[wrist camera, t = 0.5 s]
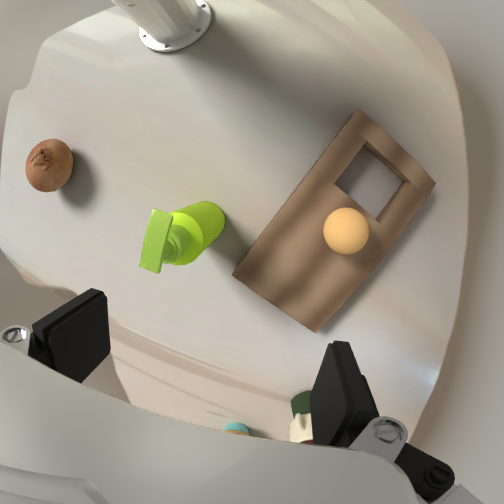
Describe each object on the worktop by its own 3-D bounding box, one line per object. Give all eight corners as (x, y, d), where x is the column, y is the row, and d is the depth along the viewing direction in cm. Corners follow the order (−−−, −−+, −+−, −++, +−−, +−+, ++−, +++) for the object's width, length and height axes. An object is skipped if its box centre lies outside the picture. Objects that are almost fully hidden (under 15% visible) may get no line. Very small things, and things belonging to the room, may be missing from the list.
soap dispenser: (232, 201, 41) (193, 223, 22) (218, 244, 43) (174, 298, 24) (195, 189, 41) (131, 202, 22) (183, 232, 43) (117, 275, 24)
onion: (84, 150, 44) (71, 132, 34) (72, 198, 44) (55, 189, 34) (44, 146, 41) (25, 129, 31) (32, 193, 41) (10, 184, 31)
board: (234, 268, 44) (231, 275, 41) (353, 113, 36) (358, 109, 33) (313, 324, 45) (315, 333, 42) (426, 182, 38) (436, 183, 35)
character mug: (332, 408, 50) (341, 455, 38) (301, 419, 52) (303, 467, 39) (312, 375, 48) (319, 426, 36) (278, 389, 49) (277, 440, 37)
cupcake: (230, 412, 52) (221, 455, 41) (264, 427, 53) (260, 469, 41) (212, 430, 55) (201, 469, 43) (244, 443, 55) (238, 483, 44)
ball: (311, 230, 38) (317, 240, 33) (337, 196, 37) (348, 199, 31) (343, 256, 39) (354, 269, 33) (369, 223, 37) (384, 231, 32)
